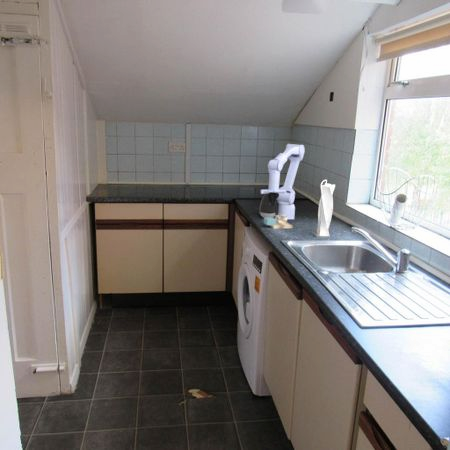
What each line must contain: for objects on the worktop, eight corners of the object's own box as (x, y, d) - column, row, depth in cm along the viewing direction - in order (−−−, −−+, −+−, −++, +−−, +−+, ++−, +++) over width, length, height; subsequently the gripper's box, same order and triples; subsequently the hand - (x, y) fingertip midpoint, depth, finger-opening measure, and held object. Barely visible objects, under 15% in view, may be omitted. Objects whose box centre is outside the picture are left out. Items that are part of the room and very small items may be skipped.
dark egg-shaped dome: (271, 220, 250) (273, 194, 246) (255, 217, 255) (257, 192, 251) (279, 217, 258) (281, 192, 255) (263, 214, 263) (265, 190, 260)
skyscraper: (312, 233, 225) (317, 179, 219) (327, 233, 226) (333, 179, 219) (316, 237, 217) (322, 181, 210) (332, 237, 218) (338, 182, 211)
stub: (272, 222, 237) (272, 217, 236) (275, 224, 233) (276, 219, 232) (263, 222, 236) (263, 217, 235) (267, 225, 231) (267, 219, 230)
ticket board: (282, 222, 246) (283, 214, 245) (292, 228, 234) (293, 219, 233) (264, 223, 243) (265, 214, 241) (273, 228, 230) (274, 220, 229)
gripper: (264, 183, 232) (262, 208, 236) (289, 183, 237) (287, 207, 240) (259, 181, 239) (258, 205, 242) (283, 181, 243) (282, 205, 246)
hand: (272, 206), depth 241 cm, fingers closed
